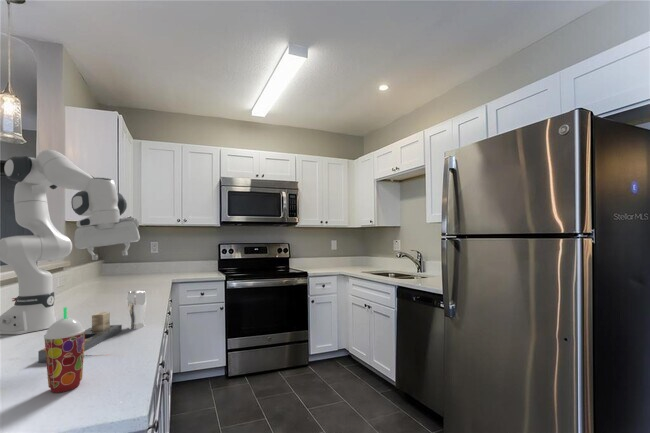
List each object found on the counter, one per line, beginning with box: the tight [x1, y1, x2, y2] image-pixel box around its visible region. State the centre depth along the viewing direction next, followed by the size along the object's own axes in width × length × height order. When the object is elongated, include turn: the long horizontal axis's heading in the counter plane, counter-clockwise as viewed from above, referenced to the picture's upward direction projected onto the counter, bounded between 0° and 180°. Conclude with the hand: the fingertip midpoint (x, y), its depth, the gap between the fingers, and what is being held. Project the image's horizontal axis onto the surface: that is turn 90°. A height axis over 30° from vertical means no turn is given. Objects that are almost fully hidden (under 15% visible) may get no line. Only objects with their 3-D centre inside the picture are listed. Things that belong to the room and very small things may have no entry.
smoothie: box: [43, 306, 86, 394], centre depth 86 cm, size 8×8×20 cm
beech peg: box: [91, 311, 111, 331], centre depth 126 cm, size 4×4×8 cm
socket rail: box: [37, 324, 123, 364], centre depth 117 cm, size 27×10×4 cm, turn 2°
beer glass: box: [126, 289, 147, 330], centre depth 137 cm, size 7×7×15 cm
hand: (110, 257), depth 125 cm, fingers open, 8 cm apart
